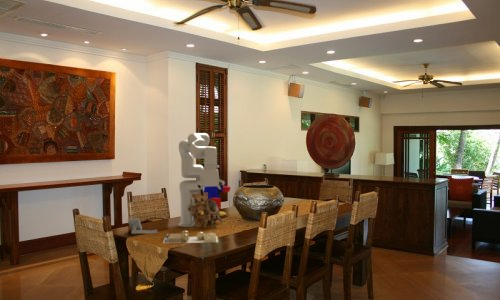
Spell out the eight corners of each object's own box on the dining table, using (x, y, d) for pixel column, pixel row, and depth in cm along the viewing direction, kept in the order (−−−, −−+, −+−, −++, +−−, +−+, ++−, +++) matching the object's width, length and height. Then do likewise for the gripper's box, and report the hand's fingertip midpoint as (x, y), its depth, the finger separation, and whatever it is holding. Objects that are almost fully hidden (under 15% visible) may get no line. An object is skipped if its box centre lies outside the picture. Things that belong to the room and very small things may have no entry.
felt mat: (164, 237, 258) (164, 237, 258) (217, 236, 262) (217, 236, 262) (162, 244, 243) (162, 243, 243) (218, 242, 247) (218, 242, 247)
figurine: (218, 211, 354) (218, 175, 353) (232, 215, 336) (232, 177, 336) (195, 213, 341) (195, 176, 340) (208, 217, 324) (209, 179, 323)
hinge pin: (165, 237, 257) (165, 234, 257) (168, 237, 257) (168, 234, 257) (163, 242, 245) (164, 239, 244) (167, 242, 245) (167, 239, 245)
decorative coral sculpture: (227, 210, 314) (231, 209, 285) (211, 237, 309) (214, 239, 280) (197, 192, 313) (199, 190, 284) (181, 219, 308) (181, 219, 279)
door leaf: (196, 237, 259) (196, 230, 259) (215, 236, 260) (215, 229, 260) (196, 241, 247) (196, 234, 247) (216, 241, 248) (216, 234, 248)
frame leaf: (169, 237, 257) (170, 230, 257) (188, 237, 258) (188, 230, 258) (168, 242, 245) (168, 235, 245) (188, 242, 246) (188, 234, 246)
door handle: (130, 240, 276) (127, 230, 258) (131, 228, 280) (127, 218, 262) (158, 238, 279) (156, 229, 261) (158, 227, 282) (156, 217, 265)
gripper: (224, 167, 257) (224, 195, 257) (196, 167, 255) (196, 195, 255) (225, 167, 249) (225, 196, 249) (195, 167, 248) (195, 196, 248)
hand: (210, 195), depth 252 cm, fingers open, 9 cm apart
